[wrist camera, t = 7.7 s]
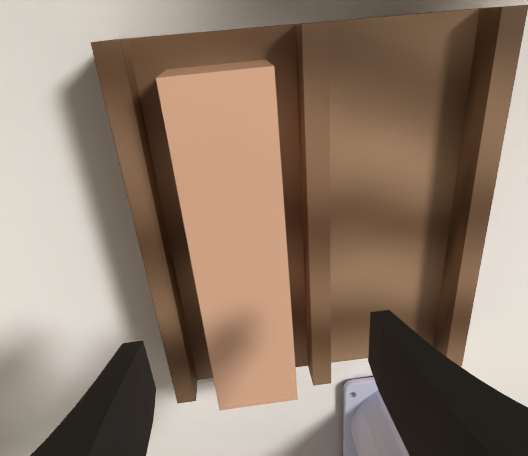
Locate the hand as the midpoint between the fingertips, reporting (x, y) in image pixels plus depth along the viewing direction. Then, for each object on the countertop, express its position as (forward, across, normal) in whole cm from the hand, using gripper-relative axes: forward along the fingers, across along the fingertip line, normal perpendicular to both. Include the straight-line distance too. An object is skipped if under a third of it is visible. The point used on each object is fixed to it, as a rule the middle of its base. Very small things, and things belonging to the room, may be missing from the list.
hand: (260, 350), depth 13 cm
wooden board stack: (+9, -3, 0) cm, 10 cm away
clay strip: (+8, 0, 0) cm, 8 cm away
